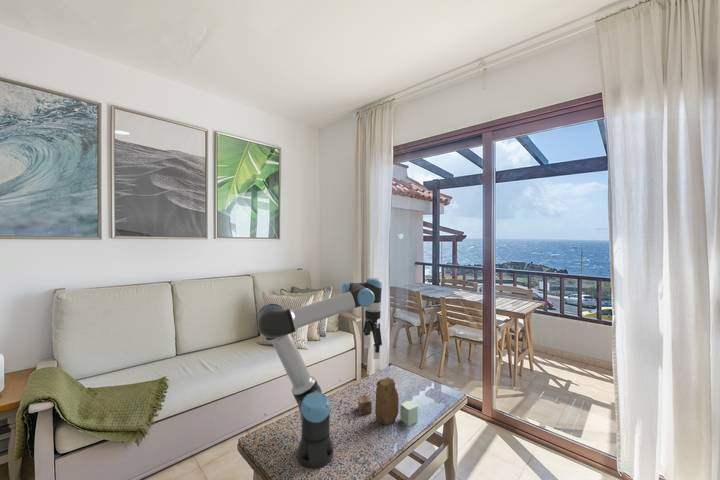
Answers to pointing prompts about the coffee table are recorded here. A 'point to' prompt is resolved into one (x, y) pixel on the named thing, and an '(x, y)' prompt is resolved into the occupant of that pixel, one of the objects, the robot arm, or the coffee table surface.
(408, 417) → the green block
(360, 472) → the coffee table surface
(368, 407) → the walnut block
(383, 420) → the pitted sandstone rock
